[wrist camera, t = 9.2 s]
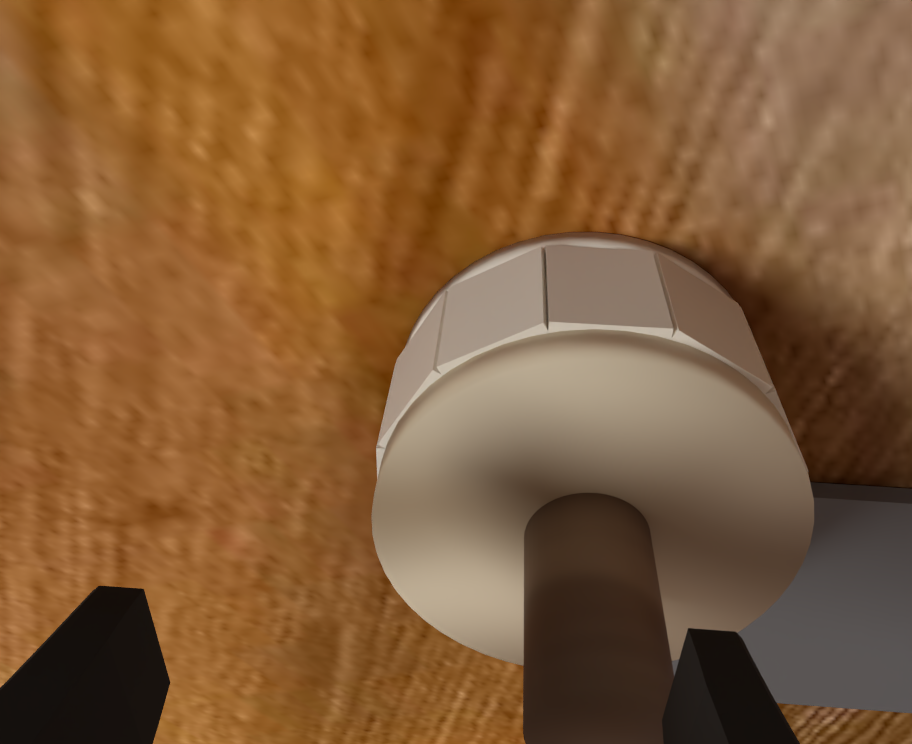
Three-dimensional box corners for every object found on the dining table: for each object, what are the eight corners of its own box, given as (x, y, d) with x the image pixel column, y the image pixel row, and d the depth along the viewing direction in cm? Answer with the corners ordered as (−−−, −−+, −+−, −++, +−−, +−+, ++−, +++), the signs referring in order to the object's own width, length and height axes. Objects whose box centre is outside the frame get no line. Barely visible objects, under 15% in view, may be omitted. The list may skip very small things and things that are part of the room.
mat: (919, 697, 27) (927, 714, 27) (643, 676, 28) (646, 692, 27) (1035, 496, 22) (1046, 512, 22) (694, 474, 23) (698, 489, 22)
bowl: (717, 529, 24) (747, 647, 20) (402, 508, 24) (383, 621, 21) (799, 242, 19) (857, 339, 15) (397, 221, 19) (371, 311, 16)
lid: (762, 642, 20) (828, 879, 16) (396, 632, 21) (362, 855, 17) (843, 328, 15) (973, 549, 11) (356, 329, 16) (291, 536, 12)
